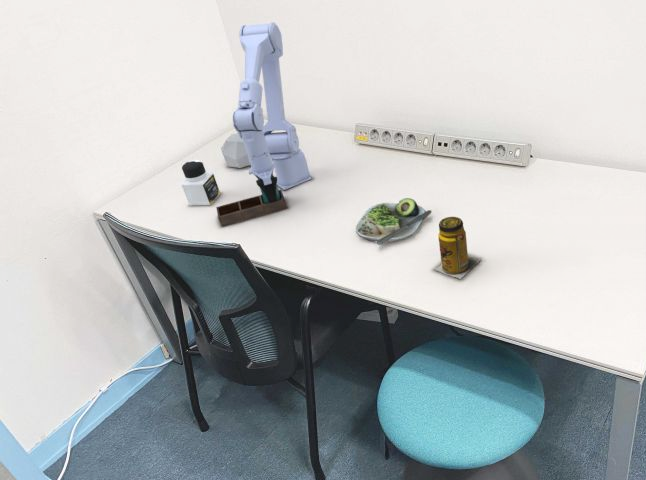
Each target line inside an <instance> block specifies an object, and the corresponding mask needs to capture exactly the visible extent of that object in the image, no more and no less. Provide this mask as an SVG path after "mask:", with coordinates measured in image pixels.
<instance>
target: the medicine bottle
mask: <svg viewBox="0 0 646 480" xmlns="http://www.w3.org/2000/svg"><path fill="white" fill-rule="evenodd" d="M181 170H182V172H183V175H184V178H185V180H184V181H183V182H182V183H181V187H182V190H183V192H184V196H185V198H186V201H187V203H188V205H189V206H190V207H191V206H192V207H193V206H212V204H213V203H214V202H215V201H216V200H217V198H218V197H219V196H220V194H221V191H220V188H219V186H218V183H217V180H216V177H215V175H214V172H207V170H206V168H205V165H204V162H203V161H202V160H199V159H192V160H189V161H186V162H185V163H183V164H182V165H181Z"/></svg>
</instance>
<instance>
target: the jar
mask: <svg viewBox="0 0 646 480" xmlns="http://www.w3.org/2000/svg"><path fill="white" fill-rule="evenodd" d="M272 177H275V175H274V174H273V175H271V177H270V178H272ZM260 179H261V178H259V179H258V178H257V180H260ZM259 190H260V194H261V195H262V196H263V200H264V203H265V204H266V203H270V202H269V201H268V199H267V197H266V195H265V194H264V192H263V190H262V189H261V188H260V187H259ZM278 190H279V188H278V185H277V184H276V195H277V200H281V198H280V195H279V191H278Z"/></svg>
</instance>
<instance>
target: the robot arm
mask: <svg viewBox="0 0 646 480" xmlns="http://www.w3.org/2000/svg"><path fill="white" fill-rule="evenodd" d="M238 36H239V37H238V38H239V42H240V46H241V48H242V50H243V52H244V79H243V81H241V82H240V84H239V91H238V102H237V104H238V105H237V108H236V110H235V111H234V112H233V114H232V123H233V124H232V125H233V128H234V130H235V131H236V133H238V134H239V136H240V138H241V139H243V142H244V145H245V148H246V152H247V155H248V158H249V161H250V164H251V165H250V167H251V168H249V169H248V170H247V173H248V174H249V175H253V176H255V177H256V179H257V180H255V183H256V185H257V187H259V189H260V188H261V189H262V190H263V192H264V194H265V195H266V197H267V199H268V201H269V202H274V201H277V195H276V184H277V187H279V188H280V189H281V190H283V191H285V190H288V189H291V188H293V187H296V186H298V185H300V184H303V183H306V182H308V181H310V180H312V177H311V174H310V169H309V166H308V162H307V158H306V156H305V154H304V152H303V150H302V149H301V148H300V141H299V137H298V134H297V129H296V126H295V125H294V124H292V123H291V122H290V121H288V120H286V114H285V105H284V104H285V103H284V96H283V85H282V75H281V66H280V65H281V64H280V58H281V57H283V55H284V51H283V50H284V47H283V38H282V37H283V35H282V33H281V30H280V28H279V26H278V25H277V23H276V22H269V23H261V24H260V23H259V24H250V25H241V27H240V28H239V32H238ZM261 72H262V73H261ZM261 74H262V83H263V86H262V84H261V83H260V77H261ZM263 90H264V98H265V107H266V117H267V122H266V123H265V117H264V113H263V112H264V111H263V108H262V98H263ZM276 131H277V132H276ZM278 131H279V132H278ZM280 131H281V132H280ZM274 173H275V176H274ZM271 175H273V176H274V177H272V178H270V177H271ZM259 178H261V179H260V180H258V179H259Z"/></svg>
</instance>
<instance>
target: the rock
mask: <svg viewBox="0 0 646 480" xmlns="http://www.w3.org/2000/svg"><path fill="white" fill-rule="evenodd" d="M220 150H221V154H222V156H223V158H224V160H225V163H226V164H227V167H231V168H238V169H241V168H244V167H248V166H251V164H250V161H249V158H248V155H247V152H246V148H245V145H244V142H243V139H241V138H240V136H239V134H238V132H236V133H231V134H230V135H229V136H228V137H227V138H226V139H225V142H224V143H223V144H222V145H221V147H220Z"/></svg>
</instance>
